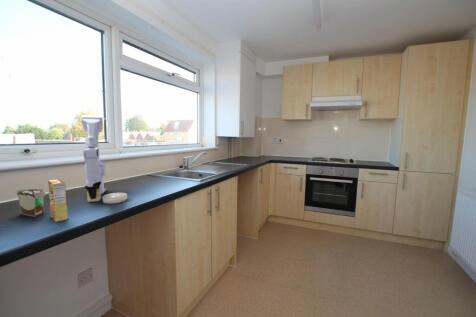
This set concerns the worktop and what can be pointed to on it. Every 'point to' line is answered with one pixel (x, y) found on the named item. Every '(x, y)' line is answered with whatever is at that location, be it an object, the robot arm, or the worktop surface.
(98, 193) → the beech block
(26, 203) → the food container
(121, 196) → the ceramic plinth
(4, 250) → the worktop surface
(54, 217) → the candy box
